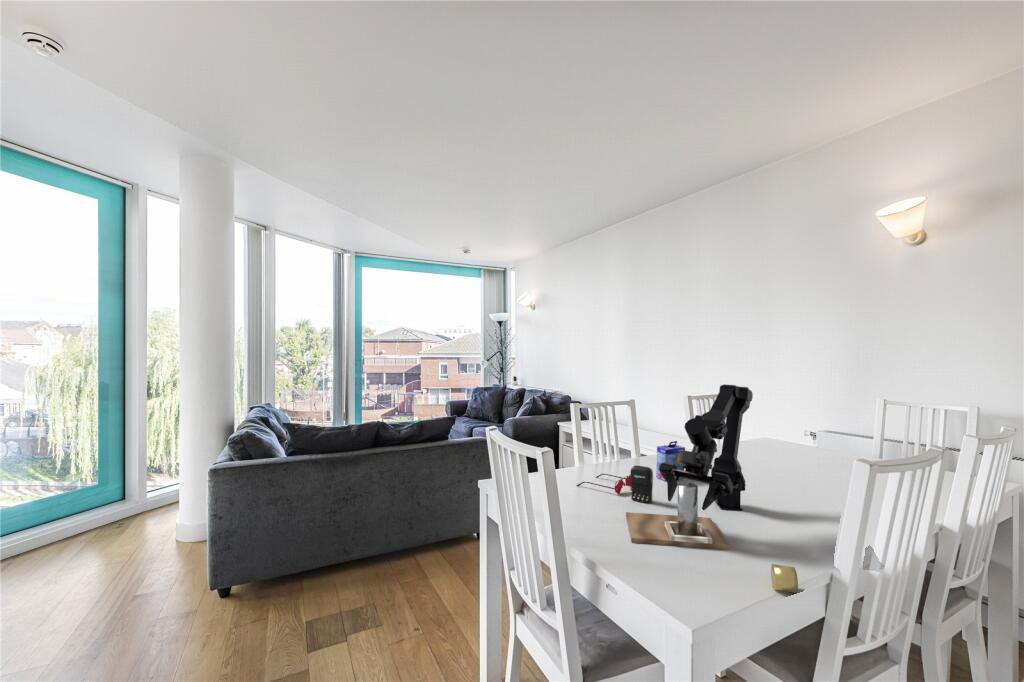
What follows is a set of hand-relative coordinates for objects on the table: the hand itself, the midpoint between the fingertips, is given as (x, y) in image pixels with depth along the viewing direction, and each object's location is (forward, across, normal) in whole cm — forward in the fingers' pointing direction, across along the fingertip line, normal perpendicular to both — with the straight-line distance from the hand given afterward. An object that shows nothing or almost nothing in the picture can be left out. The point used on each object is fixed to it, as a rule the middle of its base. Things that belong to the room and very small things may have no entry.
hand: (685, 504), depth 121 cm
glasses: (-10, -39, +24) cm, 47 cm away
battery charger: (-6, -23, +20) cm, 31 cm away
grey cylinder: (+5, 0, +7) cm, 8 cm away
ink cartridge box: (-28, -27, +42) cm, 57 cm away
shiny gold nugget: (+12, +23, -2) cm, 26 cm away
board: (+4, -5, +9) cm, 11 cm away
